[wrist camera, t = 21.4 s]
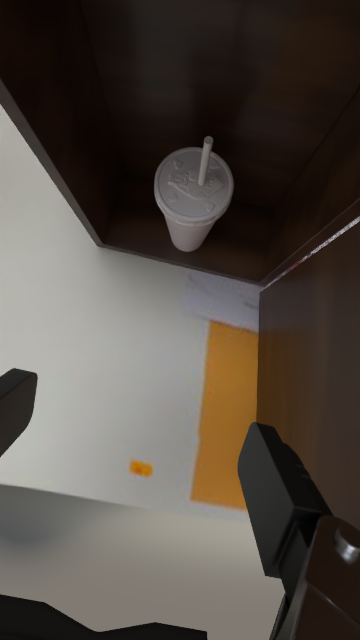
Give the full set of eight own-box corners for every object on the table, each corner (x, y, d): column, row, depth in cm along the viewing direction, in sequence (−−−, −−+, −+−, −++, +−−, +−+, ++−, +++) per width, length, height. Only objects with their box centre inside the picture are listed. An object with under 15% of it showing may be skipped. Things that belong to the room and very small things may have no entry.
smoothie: (212, 266, 31) (246, 192, 17) (155, 259, 30) (142, 179, 17) (218, 213, 31) (254, 100, 17) (162, 206, 31) (155, 87, 17)
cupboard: (264, 286, 31) (796, -106, 5) (96, 245, 31) (-327, -375, 5) (280, 208, 33) (766, -447, 6) (119, 169, 33) (-111, -655, 6)
